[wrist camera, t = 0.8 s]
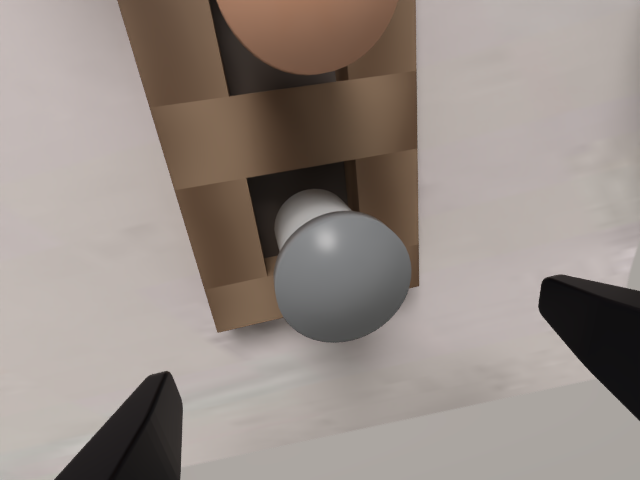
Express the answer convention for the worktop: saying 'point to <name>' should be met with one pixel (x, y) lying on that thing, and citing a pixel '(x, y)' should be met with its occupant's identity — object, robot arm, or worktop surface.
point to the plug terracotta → (307, 31)
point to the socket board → (272, 141)
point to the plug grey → (336, 268)
